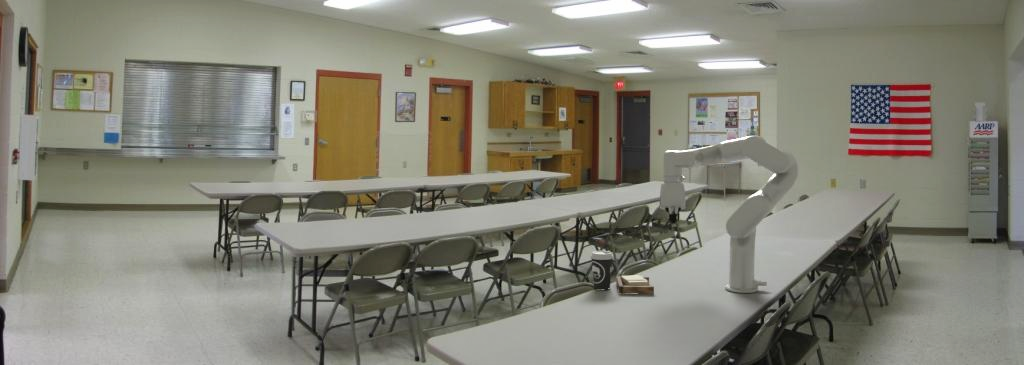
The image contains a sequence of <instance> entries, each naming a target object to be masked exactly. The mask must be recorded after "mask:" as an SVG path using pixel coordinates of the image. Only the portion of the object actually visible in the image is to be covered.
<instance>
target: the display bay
mask: <svg viewBox="0 0 1024 365" xmlns="http://www.w3.org/2000/svg"><path fill="white" fill-rule="evenodd" d="M642 277H643V278H644V279H646V280H647V281H648V282H649V283H650V277H649V276H642ZM615 279H616V282H615V283H616V287H617V286H618V287H617V291H618V290H619V291H618V293H621V294H620V295H624V294H623V293H638V294H637V295H655V288H654V287H655V286H653V285H649V286H623V284H622V281H621V276H618V275H617V276H615Z"/></svg>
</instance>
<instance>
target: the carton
mask: <svg viewBox="0 0 1024 365" xmlns="http://www.w3.org/2000/svg"><path fill="white" fill-rule="evenodd" d="M620 277H621V281H622V284H623V286H650V281H649V282H648V281H647V280H646V279H644V278H643V277H644V276H642V275H640V274H637V275H636V274H635V275H621V276H620Z"/></svg>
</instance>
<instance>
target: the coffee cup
mask: <svg viewBox="0 0 1024 365" xmlns="http://www.w3.org/2000/svg"><path fill="white" fill-rule="evenodd" d="M589 258H590V259H591V268H592V279H593V280H592V282H593V289H594V290H597V289H608V288H611V282H612V281H611V280H612V279H611V278H612V266H613V259H614V255H613V253H612V251H607V250H595V251H592V252H591V254H590V257H589ZM597 291H598V290H597Z"/></svg>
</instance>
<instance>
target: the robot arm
mask: <svg viewBox="0 0 1024 365" xmlns="http://www.w3.org/2000/svg"><path fill="white" fill-rule="evenodd" d="M662 158H663V159H662V160H663V164H662V165H663V182H661V186H660V192H659V204H660V205H659V209H660V210H663V211H666V212H667V213H668V222H670V224H676V222H678V221H677V219H678V214H679V212H680V211H682V210H683V211H684V210H686V208H687V207H686V202H687V201H686V199H687V198H686V191H685V190H686V189H685V184H684V182H683V181H685V180H686V176H683V168H685V169H693V168H697V167H702V166H709V165H714V164H719V163H720V164H721V163H722V164H723V163H724V164H725V163H731V162H736V161H742V160H747V159H750V160H751V161H753V162H755V164H758V165H760V166H761V167H763V168H764V169H766V170H768V171H770V172H772V173H773V174H772V175H771V176H770V177H769V179H767V180H766V182H765V183H764V184H763V185H762V186H761V187H760V188H759V190H758V191H756V192H755V193H753V194H751V195H750V196H748V197H747V198H746V199H745V200H743V202H742V203H741V205H740V206H738V208H737V209H736V210H735V211H734V212H733V213H732V214H731V215H730V216H729V217H728V219H727V220H726V221H725V222H726V224H725V230H726V233H727V234H728V235H729V236H730V239H729V240H730V241H729V271H728V276H729V277H728V278H729V281H728V283H727V284H726V285H724V289H725V290H726V291H729V292H733V293H736V294H737V293H739V294H753V293H756V292H758V291H759V287H760V286H761V287H767V285H768V282H767V281H766V280H761V279H759V280H757V279H756V278H755V265H756V264H755V259H756V258H755V256H756V235H757V234H756V233H757V226H759V224H760V223H762V221H763V220H764V219H765V218H766V217H767V216H768V215H769V214H770V213H771V212H772V210H774V208H775V207H776V206H777V204H778V203H779V202H781V200H782V199H783V198H784V197H785V196H786V195H787V194H788V193H789V191H790V190H791V189H792V188H793V187H794V184H795V183H796V181H797V179H798V174H799V166H798V163H797V160H796V158H795V156H794V155H793V154H792V153H791V152H790V151H788V150H785V149H784V150H783V149H782V150H780V149H779V148H777V147H775V146H773V145H771V144H769V143H768V142H767V141H766V140H765V139H764V137H763V136H760V135H755V134H753V135H749V136H744V137H741V138H736V139H734V138H733V139H730V140H724V141H721V142H719V143H717V144H714V145H709V146H705V147H704V146H703V147H699V148H693V149H686V150H673V149H672V150H666V151H664V152H663V157H662ZM672 208H673V210H672Z"/></svg>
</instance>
